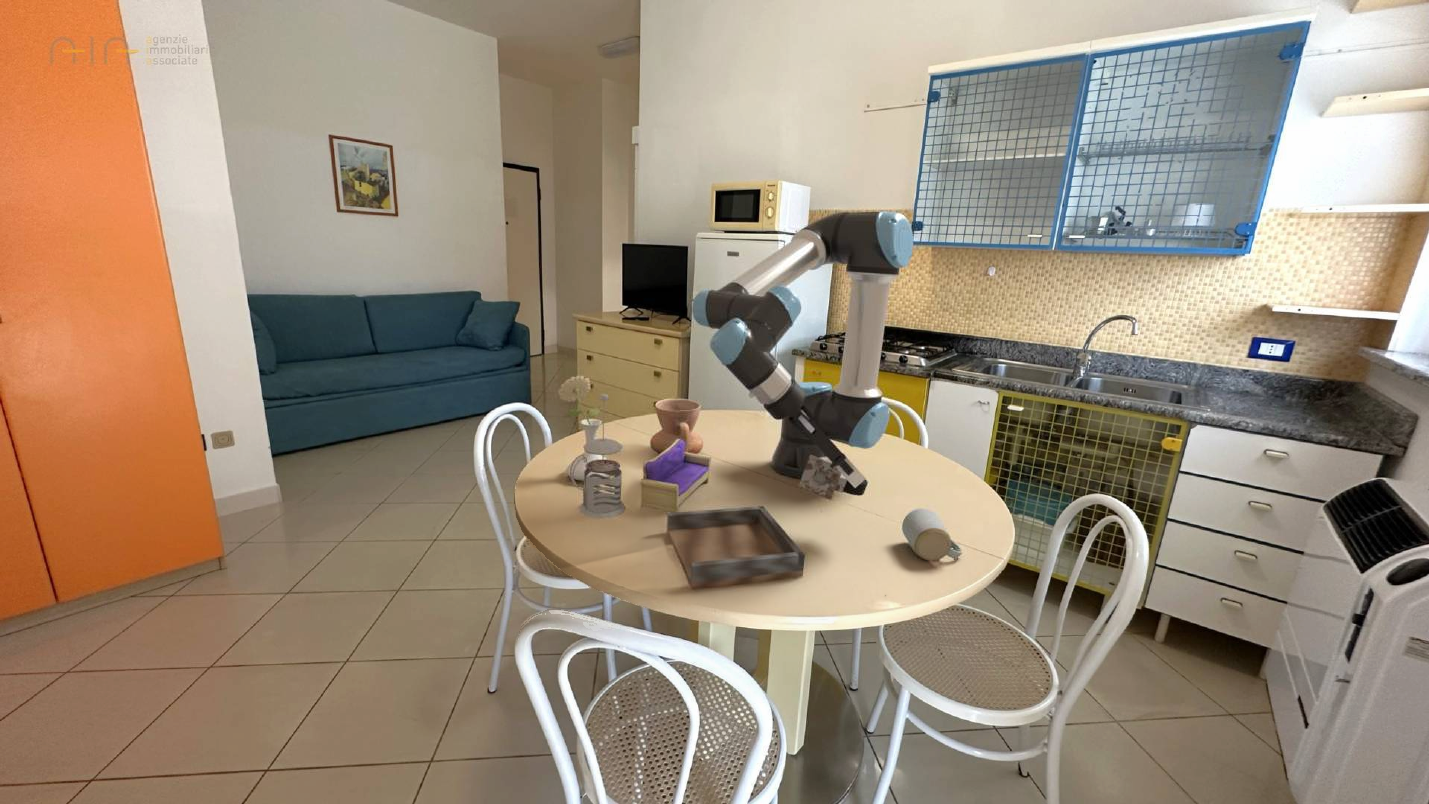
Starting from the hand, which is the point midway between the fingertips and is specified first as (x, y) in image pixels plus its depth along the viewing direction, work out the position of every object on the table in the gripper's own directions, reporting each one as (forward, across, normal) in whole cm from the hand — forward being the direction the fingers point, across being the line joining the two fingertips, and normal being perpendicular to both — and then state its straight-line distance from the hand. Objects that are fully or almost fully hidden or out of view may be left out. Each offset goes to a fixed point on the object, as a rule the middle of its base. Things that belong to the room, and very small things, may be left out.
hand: (851, 473), depth 111 cm
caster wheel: (+1, 0, -5) cm, 5 cm away
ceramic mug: (+21, +6, +1) cm, 22 cm away
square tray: (-7, +6, -26) cm, 28 cm away
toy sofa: (-13, -21, -33) cm, 41 cm away
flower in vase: (-28, -31, -48) cm, 63 cm away
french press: (-25, -13, -45) cm, 53 cm away
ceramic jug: (-12, -48, -32) cm, 59 cm away
